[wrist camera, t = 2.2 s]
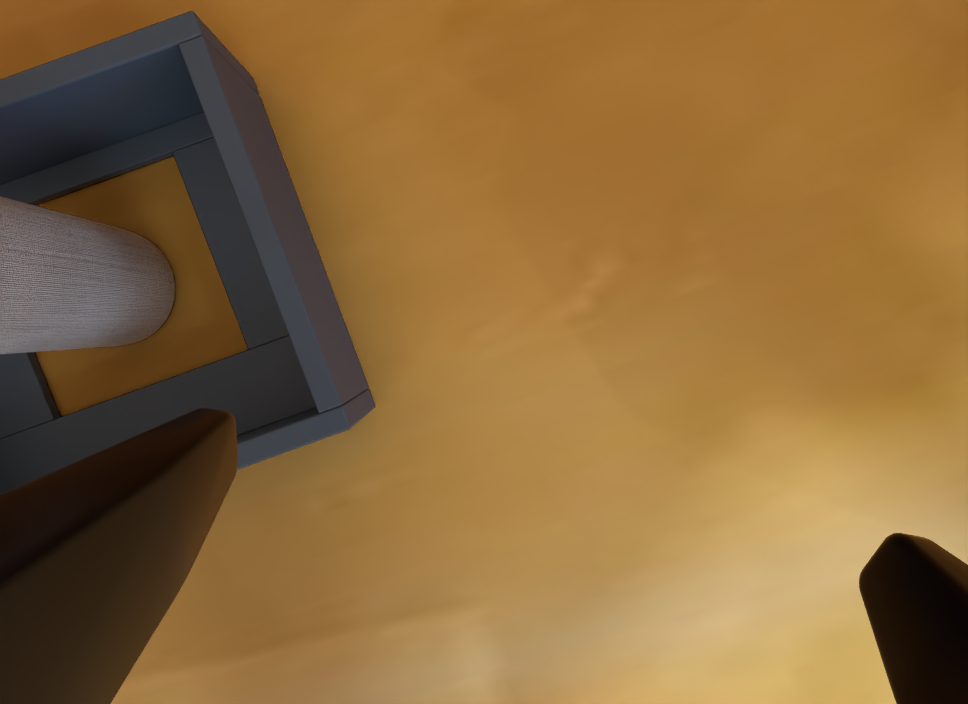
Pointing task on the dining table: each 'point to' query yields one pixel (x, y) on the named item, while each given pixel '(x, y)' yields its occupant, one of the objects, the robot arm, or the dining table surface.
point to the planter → (76, 282)
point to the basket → (227, 228)
